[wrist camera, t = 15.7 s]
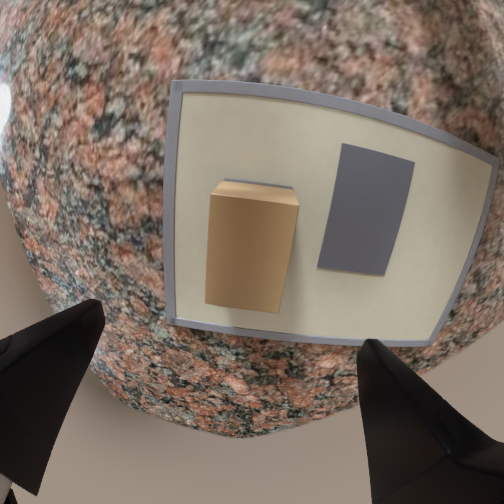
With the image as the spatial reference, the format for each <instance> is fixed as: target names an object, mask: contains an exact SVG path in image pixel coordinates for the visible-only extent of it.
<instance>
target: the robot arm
mask: <svg viewBox="0 0 504 504" xmlns="http://www.w3.org/2000/svg"><path fill="white" fill-rule="evenodd" d="M104 326H105V315H104V311H103V306H102V303H101V301H99V300H96V299H88V300H86V301H83V302H81V303H79V304H77V305H75V306H72V307H70V308H68V309H66V310H64V311H61V312H59V313H57V314H55V315H53V316H50V317H48V318H46V319H44V320H42V321H40V322H38V323H35V324H33V325H31V326H29V327H27V328H25V329H23V330H20V331H18V332H16V333H14V334H13V335H10V336H8V337H6V338H4V339H1V340H0V504H18V503H17V501H16V498H15V496H14V492H13V490H12V489H11V488H10V487H11V485H12V482H14V483H15V484H17V485H18V486H20V487H22V488H23V489H25V490H26V491H28V492H30V493H31V494H33V495H35V496H37V494H38V492H39V488H40V485H41V482H42V478H43V475H44V472H45V469H46V466H47V463H48V461H49V458H50V455H51V451H52V449H53V446H54V444H55V441H56V438H57V436H58V433H59V430H60V428H61V426H62V423H63V421H64V418H65V416H66V413H67V411H68V409H69V407H70V404H71V402H72V400H73V398H74V395H75V393H76V391H77V389H78V387H79V385H80V382H81V380H82V378H83V376H84V374H85V372H86V370H87V368H88V366H89V364H90V362H91V359H92V357H93V355H94V352H95V349H96V347H97V344H98V341H99V339H100V336H101V334H102V331H103V329H104ZM356 363H357V376H358V391H359V402H360V408H361V414H362V420H363V427H364V434H365V441H366V449H367V456H368V465H369V475H370V485H371V497H372V504H504V443H502V442H498V441H496V440H494V439H492V438H491V437H489V436H488V435H487V434H485V433H484V432H483V431H481V430H480V429H479V428H478V427H476V426H475V425H474V424H472V423H471V422H470V421H469V420H467V419H466V418H465V417H464V416H462V415H461V414H460V413H459V412H458V411H457V410H455V409H454V408H453V407H452V406H451V405H450V404H449V403H448V402H447V401H446V400H444V399H443V398H442V397H441V396H440V395H439V394H438V393H437V392H436V391H435V390H434V389H432V388H431V387H430V386H429V385H428V384H427V383H426V382H425V381H424V380H423V379H422V378H420V377H419V376H418V375H417V374H416V373H415V372H414V371H413V370H412V369H411V368H409V367H408V366H407V365H406V364H405V363H404V362H403V361H402V360H401V359H399V358H398V357H397V356H396V355H395V354H394V353H393V352H392V351H391V350H389V349H388V348H387V347H386V346H385V345H384V344H383V343H382V342H380V341H379V340H378V339H371V338H368V339H366V340H365V341H364V343H363V345H362V347H361V349H360V351H359V353H358V356H357V360H356Z"/></svg>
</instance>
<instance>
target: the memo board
mask: <svg viewBox="0 0 504 504" xmlns="http://www.w3.org/2000/svg"><path fill="white" fill-rule="evenodd" d="M499 164H500V159H498V158H497V157H495V156H493V155H491V154H490V153H488V152H486V151H484V150H482V149H480V148H478V147H476V146H474V145H473V144H471V143H469V142H466V141H464V140H462V139H460V138H458V137H456V136H454V135H452V134H449V133H447V132H445V131H442V130H440V129H438V128H435V127H433V126H430V125H428V124H425V123H423V122H420V121H418V120H415V119H412V118H409V117H407V116H404V115H401V114H398V113H395V112H392V111H389V110H386V109H383V108H379V107H376V106H372V105H369V104H365V103H362V102H358V101H354V100H350V99H346V98H342V97H338V96H333V95H329V94H324V93H319V92H314V91H309V90H303V89H297V88H291V87H284V86H277V85H269V84H260V83H250V82H238V81H221V80H172V82H171V90H170V99H169V108H168V119H167V130H166V144H165V160H164V184H163V260H164V284H165V301H166V315H167V324H171V325H177V326H183V327H188V328H194V329H199V330H205V331H212V332H218V333H225V334H231V335H239V336H246V337H254V338H262V339H271V340H280V341H290V342H301V343H313V344H328V345H345V346H362V345H363V343H364V341H365V340H366V339H368V338H371V339H378V340H379V341H380V342H382V343H383V344H384V345H385V346H386V347H426V346H431V345H432V344H433V342H434V340H435V338H436V337H437V335H438V333H439V331H440V330H441V328H442V326H443V324H444V322H445V320H446V318H447V316H448V314H449V313H450V311H451V309H452V307H453V304H454V302H455V300H456V298H457V296H458V294H459V292H460V290H461V287H462V285H463V283H464V281H465V278H466V276H467V273H468V271H469V269H470V266H471V264H472V261H473V258H474V256H475V253H476V250H477V247H478V245H479V242H480V239H481V236H482V233H483V229H484V226H485V223H486V220H487V216H488V213H489V209H490V205H491V201H492V197H493V193H494V189H495V184H496V180H497V175H498V169H499ZM225 178H227V179H236V180H244V181H253V182H261V183H268V184H276V185H283V186H289V187H293V190H294V192H295V195H296V197H297V200H298V203H299V212H298V217H297V223H296V228H295V234H294V239H293V245H292V250H291V255H290V260H289V265H288V271H287V276H286V281H285V285H284V290H283V295H282V300H281V305H280V309H279V313H269V312H261V311H253V310H246V309H238V308H231V307H224V306H217V305H211V304H205V280H206V257H207V237H208V220H209V205H210V194H211V193H212V192H213V191H214V189H215V188H216V187H217V186H218V185H219V184H220V183H221V182H222V181H223V180H224V179H225Z"/></svg>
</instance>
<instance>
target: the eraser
mask: <svg viewBox="0 0 504 504" xmlns="http://www.w3.org/2000/svg"><path fill="white" fill-rule="evenodd" d="M298 212H299V203H298V200H297V197H296V195H295V192H294V190H293V187H289V186H283V185H276V184H268V183H261V182H253V181H244V180H236V179H227V178H225V179H224V180H223V181H222V182H221V183H220V184H219V185H218V186H217V187H216V188H215V189H214V191H213V192H212V193H211V194H210V205H209V220H208V237H207V257H206V280H205V304H211V305H217V306H224V307H231V308H238V309H246V310H253V311H261V312H269V313H279V309H280V305H281V300H282V295H283V290H284V285H285V281H286V276H287V271H288V265H289V260H290V255H291V250H292V245H293V239H294V234H295V228H296V223H297V217H298Z"/></svg>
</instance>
